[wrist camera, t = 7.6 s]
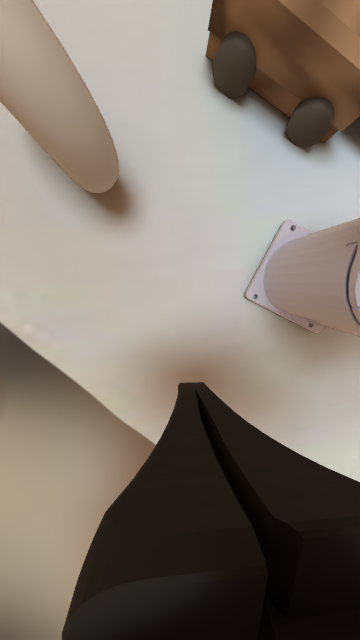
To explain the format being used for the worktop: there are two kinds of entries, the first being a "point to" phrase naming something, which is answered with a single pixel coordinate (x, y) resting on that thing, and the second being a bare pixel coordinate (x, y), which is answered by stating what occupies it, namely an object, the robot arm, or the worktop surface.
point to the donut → (53, 98)
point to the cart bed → (291, 60)
